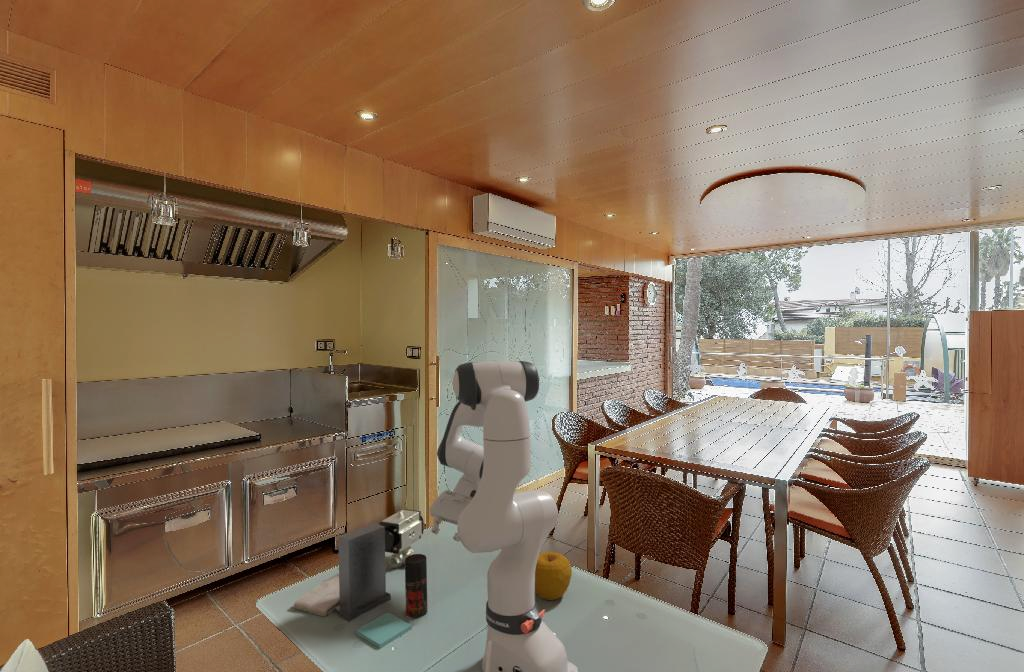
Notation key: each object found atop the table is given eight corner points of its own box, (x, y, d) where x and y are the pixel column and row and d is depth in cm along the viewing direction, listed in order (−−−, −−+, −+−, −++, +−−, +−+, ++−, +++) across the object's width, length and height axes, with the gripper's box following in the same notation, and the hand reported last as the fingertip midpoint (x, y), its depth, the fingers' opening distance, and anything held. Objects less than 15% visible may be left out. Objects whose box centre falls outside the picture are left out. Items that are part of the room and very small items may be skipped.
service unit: (390, 599, 141) (389, 526, 142) (348, 621, 130) (347, 542, 131) (376, 592, 146) (375, 521, 146) (334, 613, 135) (333, 536, 135)
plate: (411, 629, 126) (411, 625, 126) (379, 648, 119) (379, 644, 119) (387, 616, 133) (387, 612, 133) (356, 634, 125) (356, 630, 125)
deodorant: (401, 612, 134) (400, 558, 134) (419, 604, 138) (418, 552, 139) (413, 621, 130) (412, 565, 130) (431, 612, 134) (430, 558, 134)
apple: (522, 587, 146) (522, 550, 147) (561, 580, 150) (560, 543, 151) (538, 609, 134) (537, 568, 134) (580, 601, 138) (579, 561, 138)
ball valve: (397, 577, 154) (396, 522, 155) (375, 573, 158) (374, 519, 158) (428, 554, 171) (427, 504, 171) (408, 551, 174) (407, 502, 174)
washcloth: (367, 588, 149) (367, 578, 149) (325, 619, 132) (324, 608, 132) (337, 581, 154) (337, 572, 154) (292, 611, 137) (292, 600, 137)
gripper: (438, 484, 156) (415, 523, 148) (485, 495, 143) (463, 539, 135) (448, 494, 159) (427, 533, 151) (495, 506, 146) (474, 549, 139)
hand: (444, 536), depth 143 cm, fingers open, 8 cm apart
